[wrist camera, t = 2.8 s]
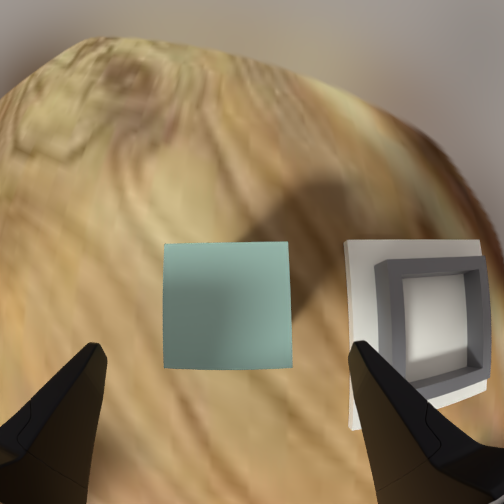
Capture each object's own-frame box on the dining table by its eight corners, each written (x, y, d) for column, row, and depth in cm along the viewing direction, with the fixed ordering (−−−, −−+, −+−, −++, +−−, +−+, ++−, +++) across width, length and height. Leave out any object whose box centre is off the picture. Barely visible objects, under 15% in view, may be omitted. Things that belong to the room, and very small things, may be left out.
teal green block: (270, 346, 18) (292, 367, 9) (201, 347, 18) (163, 368, 9) (268, 278, 19) (287, 241, 10) (200, 279, 19) (164, 243, 10)
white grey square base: (480, 389, 17) (501, 393, 14) (348, 427, 17) (362, 440, 14) (473, 241, 20) (493, 233, 17) (343, 242, 20) (357, 230, 17)
